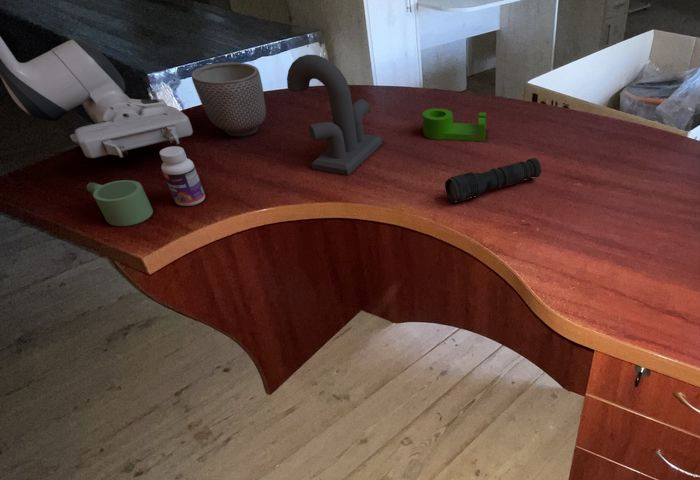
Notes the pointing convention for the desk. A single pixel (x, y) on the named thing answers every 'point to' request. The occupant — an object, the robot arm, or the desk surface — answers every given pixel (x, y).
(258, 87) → the planter
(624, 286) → the desk surface
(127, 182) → the scoop
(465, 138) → the tape dispenser
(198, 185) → the pill bottle
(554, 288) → the desk surface
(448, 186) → the flashlight
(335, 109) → the faucet
